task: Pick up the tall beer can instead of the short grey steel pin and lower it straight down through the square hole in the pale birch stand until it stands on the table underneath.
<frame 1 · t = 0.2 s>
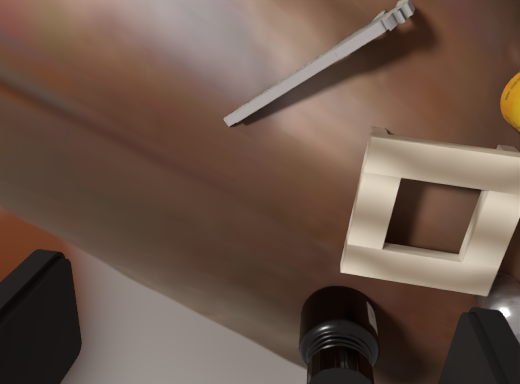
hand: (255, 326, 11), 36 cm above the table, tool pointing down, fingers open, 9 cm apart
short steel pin: (496, 290, 51), on the table
caliper: (309, 66, 44), on the table
birch stand: (422, 198, 48), on the table
ink bottle: (337, 312, 56), on the table
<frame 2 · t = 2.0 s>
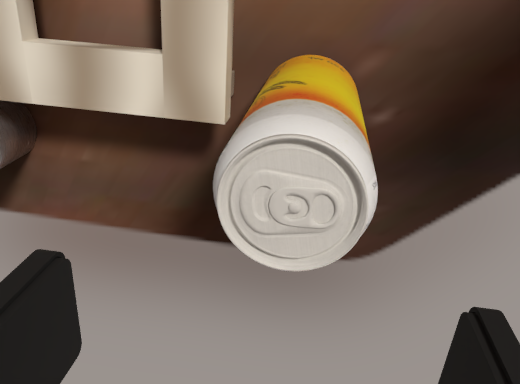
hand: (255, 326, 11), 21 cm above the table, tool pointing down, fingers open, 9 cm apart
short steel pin: (4, 124, 33), on the table
beer can: (309, 100, 29), on the table
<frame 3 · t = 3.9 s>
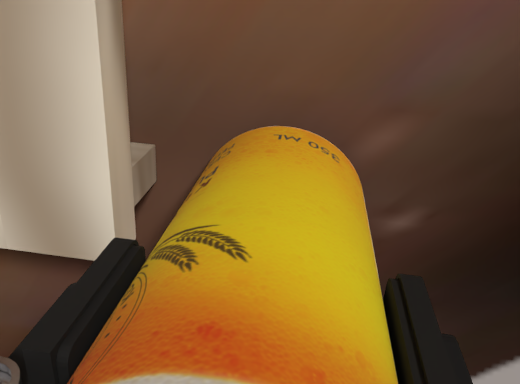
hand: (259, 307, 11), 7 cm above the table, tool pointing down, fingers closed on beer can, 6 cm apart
beer can: (282, 193, 18), on the table, touching gripper
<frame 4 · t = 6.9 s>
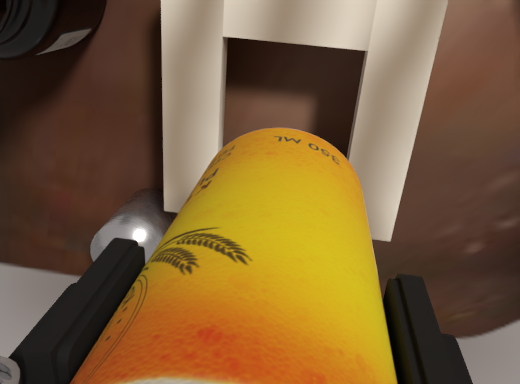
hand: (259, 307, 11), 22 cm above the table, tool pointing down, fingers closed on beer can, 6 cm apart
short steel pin: (154, 216, 36), on the table
beer can: (282, 195, 18), point 15 cm above the table, touching gripper
birch stand: (292, 95, 31), on the table
when the fingers open (7 cm above the table, at t = 10.1 s): beer can stays where it is, on the table.
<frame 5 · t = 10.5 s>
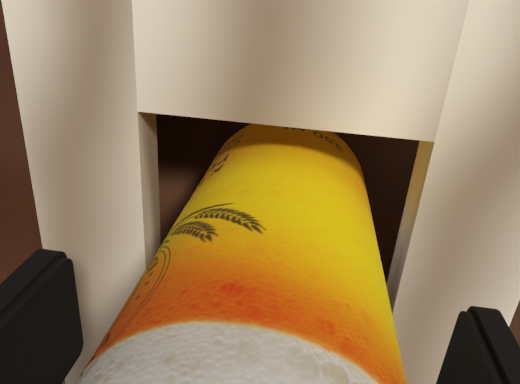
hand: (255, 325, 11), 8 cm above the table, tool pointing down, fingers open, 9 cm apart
beer can: (287, 182, 18), on the table
birch stand: (283, 185, 18), on the table
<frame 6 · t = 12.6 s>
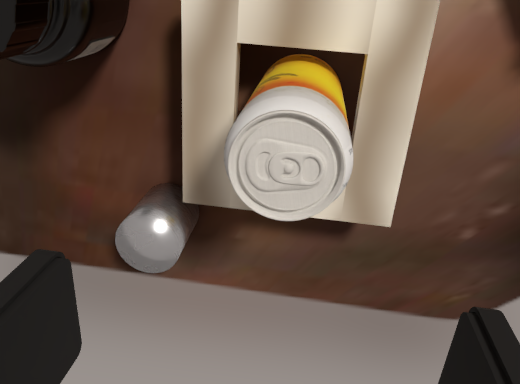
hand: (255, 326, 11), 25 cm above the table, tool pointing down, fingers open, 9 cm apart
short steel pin: (171, 209, 39), on the table
beer can: (300, 93, 34), on the table
birch stand: (298, 95, 34), on the table
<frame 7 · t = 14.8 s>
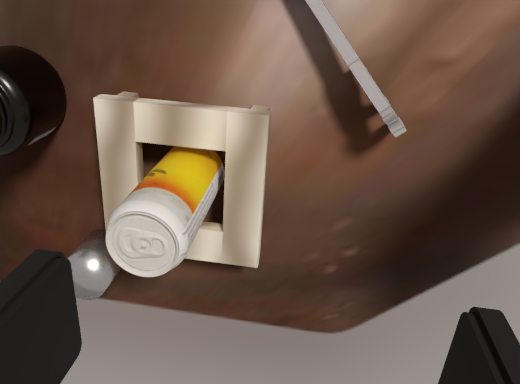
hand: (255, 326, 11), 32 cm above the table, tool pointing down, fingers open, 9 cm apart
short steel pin: (108, 248, 51), on the table
caliper: (331, 26, 38), on the table
beer can: (196, 166, 45), on the table
birch stand: (194, 167, 45), on the table
ink bottle: (26, 91, 44), on the table
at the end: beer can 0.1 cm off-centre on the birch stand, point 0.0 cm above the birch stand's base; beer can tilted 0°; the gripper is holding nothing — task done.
